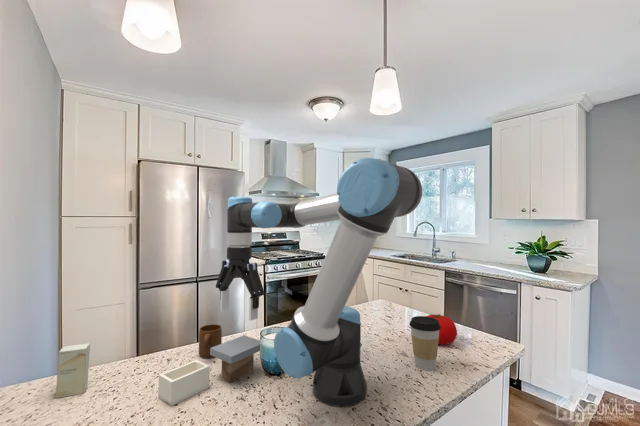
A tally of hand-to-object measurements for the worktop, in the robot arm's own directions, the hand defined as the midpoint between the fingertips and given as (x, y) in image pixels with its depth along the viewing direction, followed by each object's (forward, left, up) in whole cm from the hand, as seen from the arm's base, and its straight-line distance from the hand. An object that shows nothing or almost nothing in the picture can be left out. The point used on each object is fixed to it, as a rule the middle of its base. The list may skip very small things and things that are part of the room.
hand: (238, 315), depth 93 cm
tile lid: (0, 0, -11) cm, 11 cm away
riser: (0, 0, -18) cm, 18 cm away
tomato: (-43, -64, -18) cm, 79 cm away
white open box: (+4, +15, -18) cm, 24 cm away
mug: (+18, -2, -18) cm, 26 cm away
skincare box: (+29, +33, -18) cm, 48 cm away
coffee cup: (-45, -40, -18) cm, 63 cm away
